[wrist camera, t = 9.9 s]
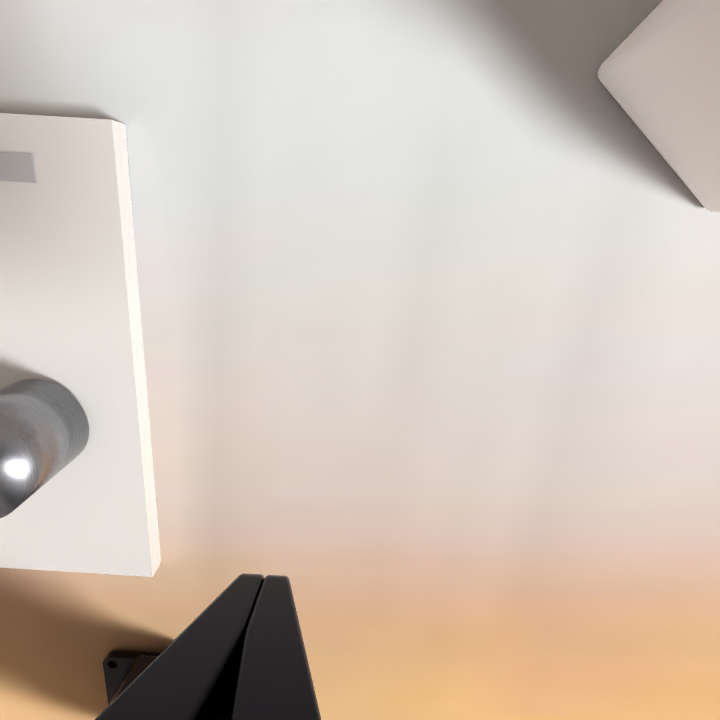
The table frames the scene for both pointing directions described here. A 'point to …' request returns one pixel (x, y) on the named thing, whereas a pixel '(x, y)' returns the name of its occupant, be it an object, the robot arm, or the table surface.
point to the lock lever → (36, 437)
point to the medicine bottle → (675, 89)
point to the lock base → (77, 341)
